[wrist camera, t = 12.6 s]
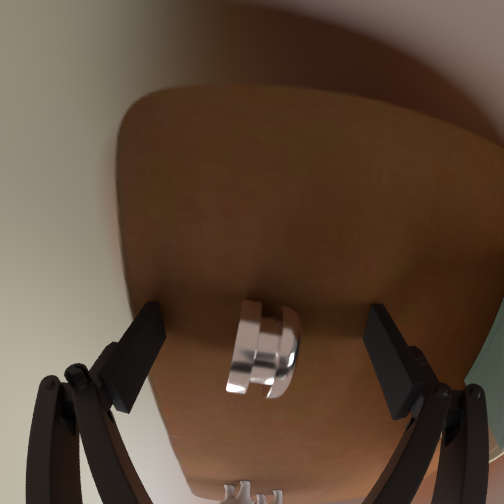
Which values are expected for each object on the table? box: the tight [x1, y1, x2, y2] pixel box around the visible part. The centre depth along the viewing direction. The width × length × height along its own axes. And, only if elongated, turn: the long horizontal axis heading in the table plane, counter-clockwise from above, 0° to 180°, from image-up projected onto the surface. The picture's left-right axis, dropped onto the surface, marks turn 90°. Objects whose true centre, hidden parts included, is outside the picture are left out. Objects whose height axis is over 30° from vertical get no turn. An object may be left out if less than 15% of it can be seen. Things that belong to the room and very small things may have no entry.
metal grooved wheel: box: [226, 299, 301, 399], centre depth 13 cm, size 5×3×5 cm, turn 170°
